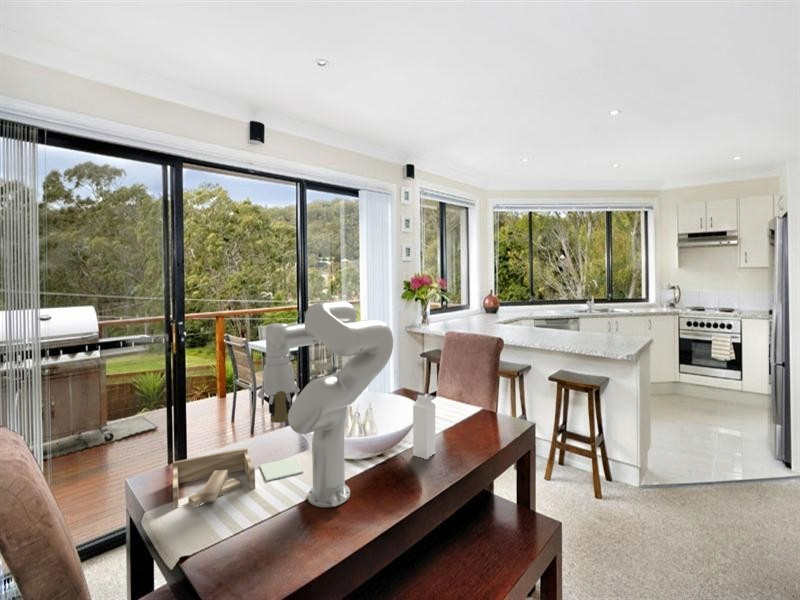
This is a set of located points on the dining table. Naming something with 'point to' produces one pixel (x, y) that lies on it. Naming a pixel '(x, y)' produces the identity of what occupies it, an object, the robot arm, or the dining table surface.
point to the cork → (279, 408)
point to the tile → (280, 469)
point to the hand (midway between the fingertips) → (279, 412)
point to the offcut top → (214, 486)
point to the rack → (211, 468)
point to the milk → (423, 427)
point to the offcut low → (227, 487)
